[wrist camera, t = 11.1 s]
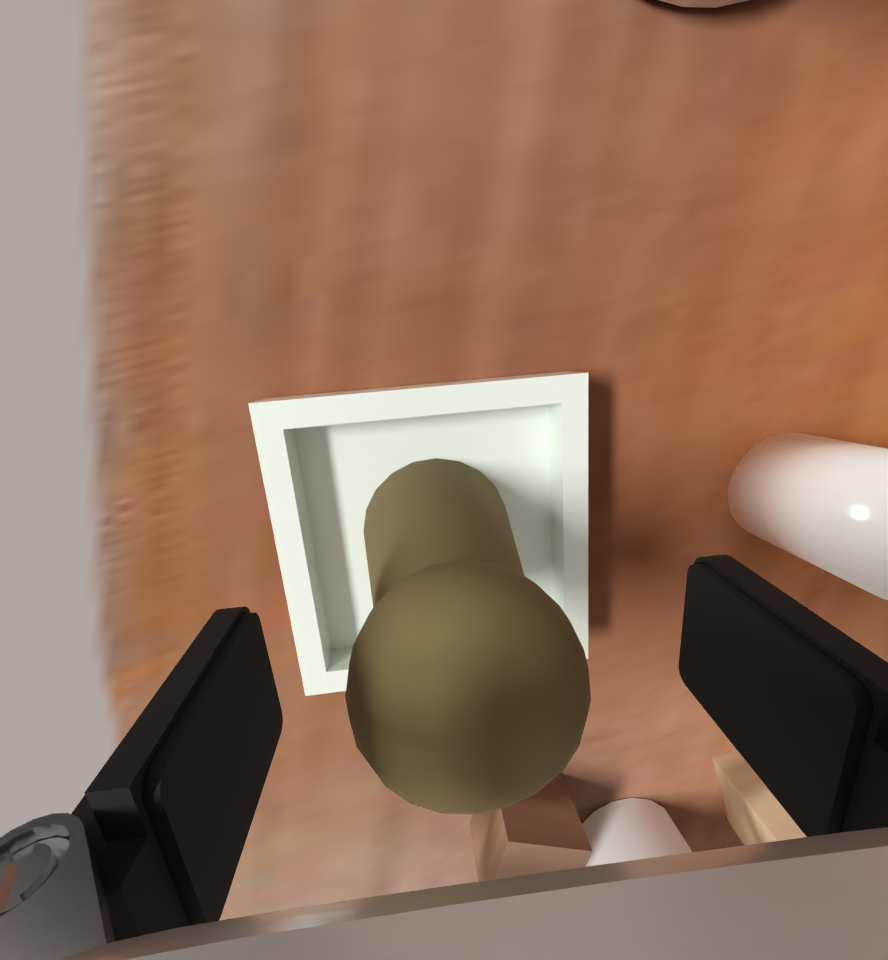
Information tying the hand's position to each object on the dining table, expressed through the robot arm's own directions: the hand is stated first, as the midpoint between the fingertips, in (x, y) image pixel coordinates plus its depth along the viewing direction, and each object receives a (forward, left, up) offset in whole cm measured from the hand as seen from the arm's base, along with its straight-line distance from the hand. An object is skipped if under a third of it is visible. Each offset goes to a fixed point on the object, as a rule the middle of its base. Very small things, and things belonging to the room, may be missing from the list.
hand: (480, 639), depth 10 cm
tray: (+1, 0, -10) cm, 10 cm away
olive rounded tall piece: (+1, 0, -9) cm, 9 cm away
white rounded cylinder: (+1, +16, -10) cm, 18 cm away
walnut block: (+17, +3, -10) cm, 20 cm away
